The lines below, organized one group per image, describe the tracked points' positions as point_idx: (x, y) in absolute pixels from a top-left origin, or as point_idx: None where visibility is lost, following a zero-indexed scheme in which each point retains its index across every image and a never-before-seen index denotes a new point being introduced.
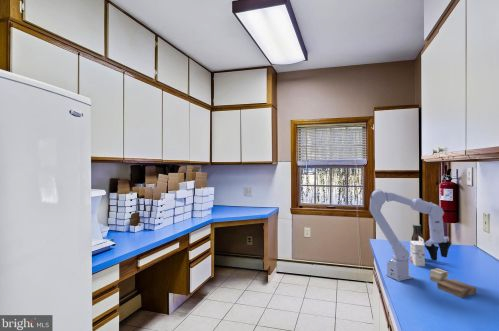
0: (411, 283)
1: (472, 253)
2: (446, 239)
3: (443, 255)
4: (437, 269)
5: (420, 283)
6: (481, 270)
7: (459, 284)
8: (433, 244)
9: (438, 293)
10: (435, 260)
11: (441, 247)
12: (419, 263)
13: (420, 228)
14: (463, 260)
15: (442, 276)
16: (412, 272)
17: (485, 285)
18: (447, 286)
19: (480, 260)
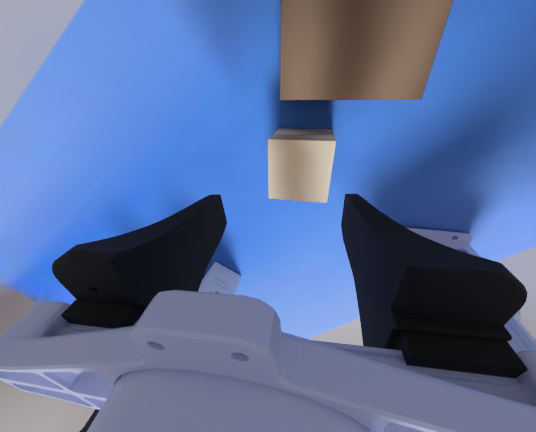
0: (448, 195)
1: (2, 245)
2: (72, 343)
3: (220, 216)
4: (285, 188)
5: (411, 176)
6: (47, 150)
7: (333, 4)
8: (441, 358)
9: (503, 32)
10: (360, 196)
11: (193, 273)
12: (227, 276)
13: (87, 424)
14: (57, 230)
15: (317, 136)
16: (308, 254)
17: (137, 10)
18: (449, 11)
19: (4, 206)
